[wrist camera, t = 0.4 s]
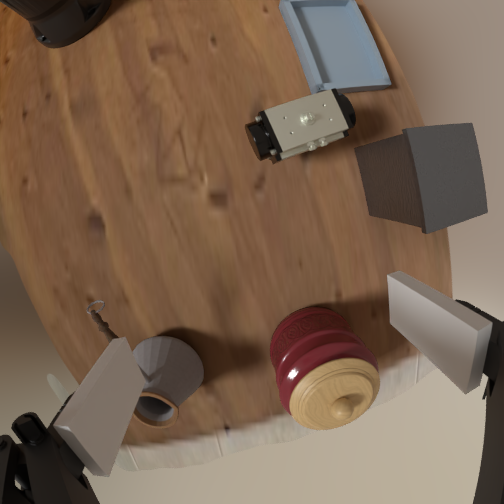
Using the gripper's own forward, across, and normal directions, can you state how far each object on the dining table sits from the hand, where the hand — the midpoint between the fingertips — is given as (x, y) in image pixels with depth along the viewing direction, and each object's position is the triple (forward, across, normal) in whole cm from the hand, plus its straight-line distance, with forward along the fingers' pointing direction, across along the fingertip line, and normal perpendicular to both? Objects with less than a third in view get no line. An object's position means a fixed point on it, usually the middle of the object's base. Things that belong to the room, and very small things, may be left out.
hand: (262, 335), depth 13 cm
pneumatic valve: (+28, +9, +12) cm, 32 cm away
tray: (+28, +20, +26) cm, 43 cm away
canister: (+28, +6, -18) cm, 34 cm away
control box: (+28, +24, +4) cm, 36 cm away
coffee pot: (+28, -16, -11) cm, 34 cm away
